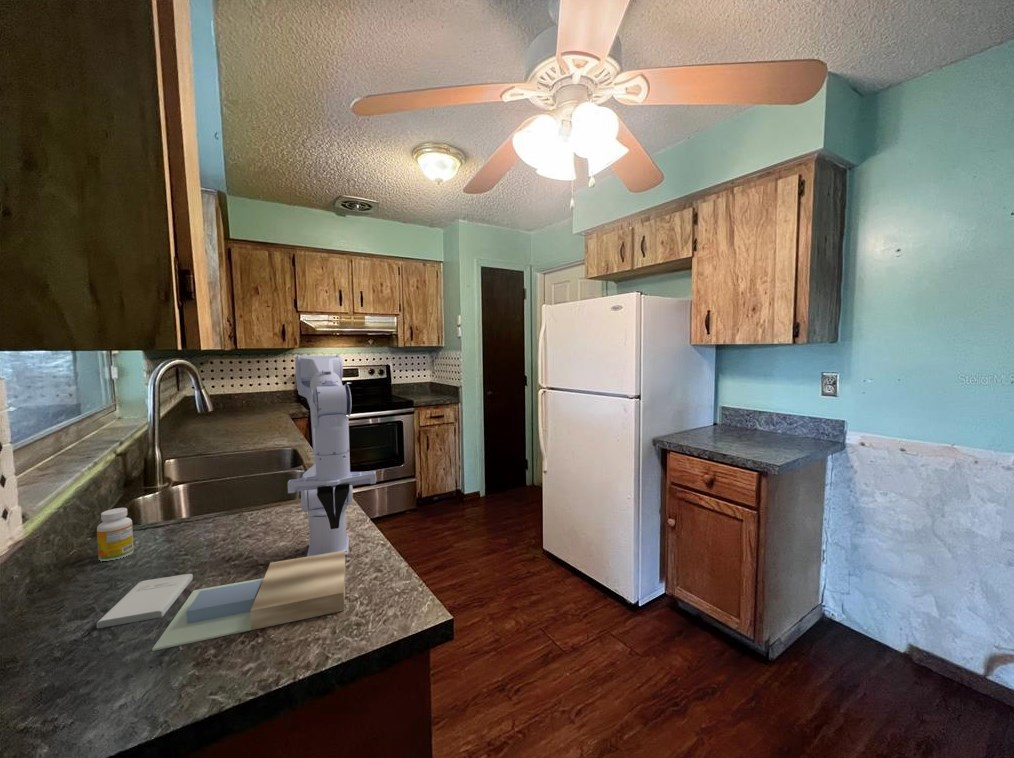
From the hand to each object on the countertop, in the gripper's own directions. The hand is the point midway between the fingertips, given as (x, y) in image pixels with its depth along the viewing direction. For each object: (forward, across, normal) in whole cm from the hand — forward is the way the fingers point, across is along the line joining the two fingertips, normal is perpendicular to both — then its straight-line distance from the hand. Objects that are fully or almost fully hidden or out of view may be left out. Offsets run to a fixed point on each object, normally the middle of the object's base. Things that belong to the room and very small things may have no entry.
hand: (335, 526), depth 74 cm
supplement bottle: (+10, -44, +30) cm, 54 cm away
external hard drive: (+11, -30, +6) cm, 32 cm away
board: (+10, -5, -1) cm, 12 cm away
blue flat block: (+10, -17, -1) cm, 19 cm away
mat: (+10, -18, -1) cm, 20 cm away
